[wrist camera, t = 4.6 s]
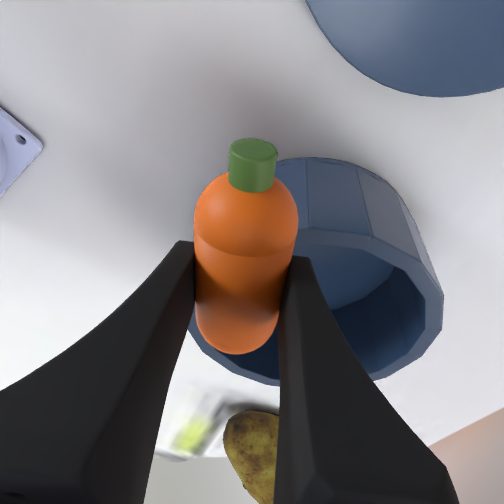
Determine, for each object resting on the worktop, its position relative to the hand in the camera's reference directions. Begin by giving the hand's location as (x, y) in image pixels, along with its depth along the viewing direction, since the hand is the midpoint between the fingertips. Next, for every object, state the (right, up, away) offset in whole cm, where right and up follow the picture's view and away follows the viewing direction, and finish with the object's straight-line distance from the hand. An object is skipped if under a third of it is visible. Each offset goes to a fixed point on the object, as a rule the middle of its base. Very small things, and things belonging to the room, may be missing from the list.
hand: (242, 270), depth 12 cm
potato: (+3, -19, +29) cm, 34 cm away
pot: (+4, +1, +11) cm, 12 cm away
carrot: (0, +1, +1) cm, 1 cm away
